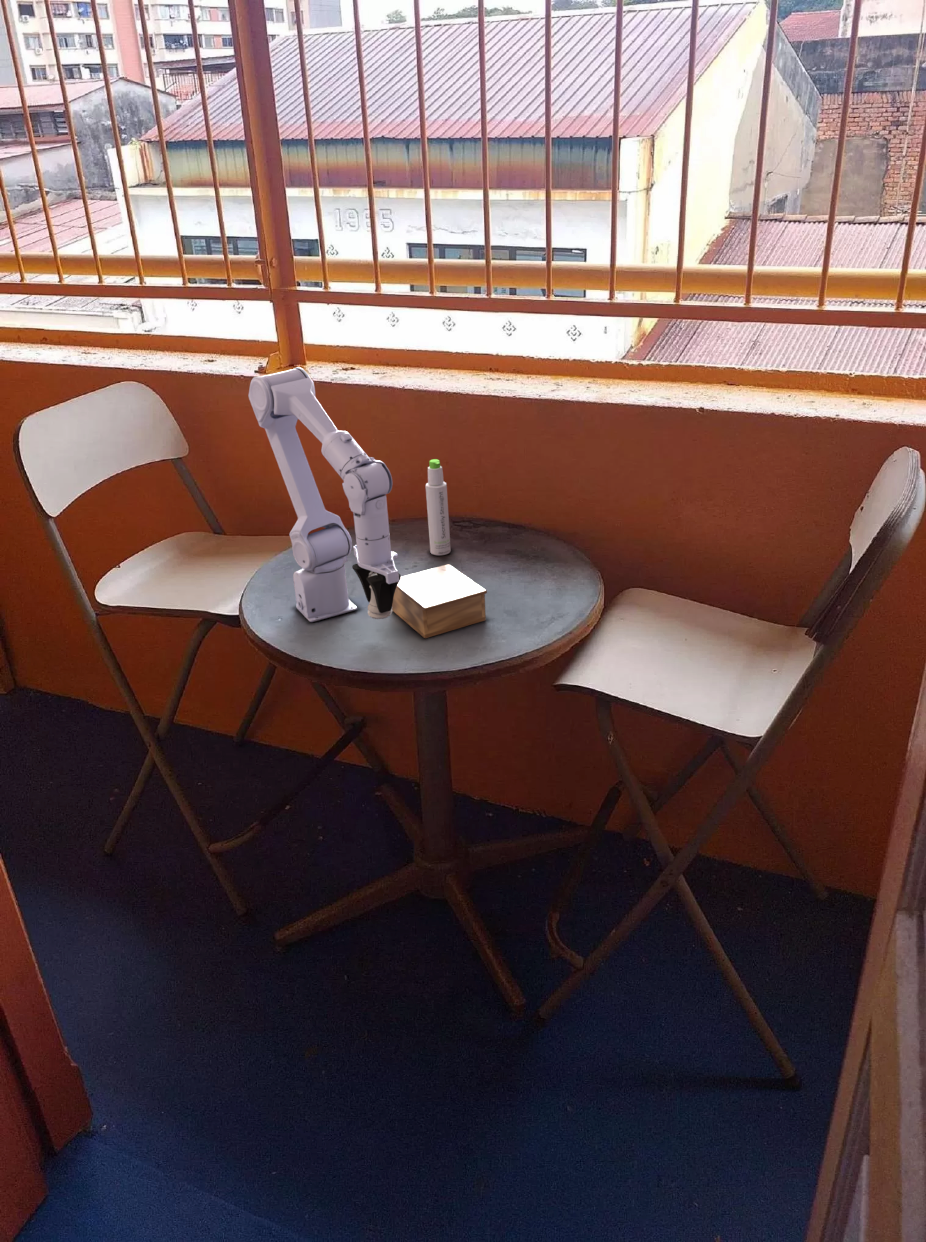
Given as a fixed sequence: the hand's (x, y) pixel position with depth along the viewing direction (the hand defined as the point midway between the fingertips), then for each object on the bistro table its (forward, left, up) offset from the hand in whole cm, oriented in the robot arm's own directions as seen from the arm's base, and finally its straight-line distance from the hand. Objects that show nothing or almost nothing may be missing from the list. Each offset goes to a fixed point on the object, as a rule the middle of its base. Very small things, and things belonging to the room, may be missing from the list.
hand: (379, 606), depth 162 cm
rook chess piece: (0, 0, -2) cm, 2 cm away
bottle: (+26, +27, -6) cm, 38 cm away
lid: (+11, 0, 0) cm, 11 cm away
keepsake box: (+12, 0, -5) cm, 13 cm away
